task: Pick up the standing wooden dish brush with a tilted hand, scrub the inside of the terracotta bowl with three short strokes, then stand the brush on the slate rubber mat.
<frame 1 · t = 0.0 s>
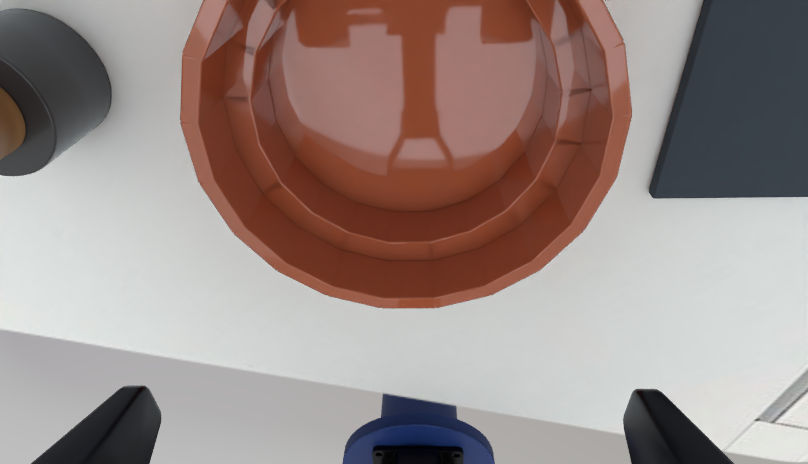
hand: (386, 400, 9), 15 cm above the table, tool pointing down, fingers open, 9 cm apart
bowl: (407, 91, 21), on the table
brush: (47, 75, 21), on the table
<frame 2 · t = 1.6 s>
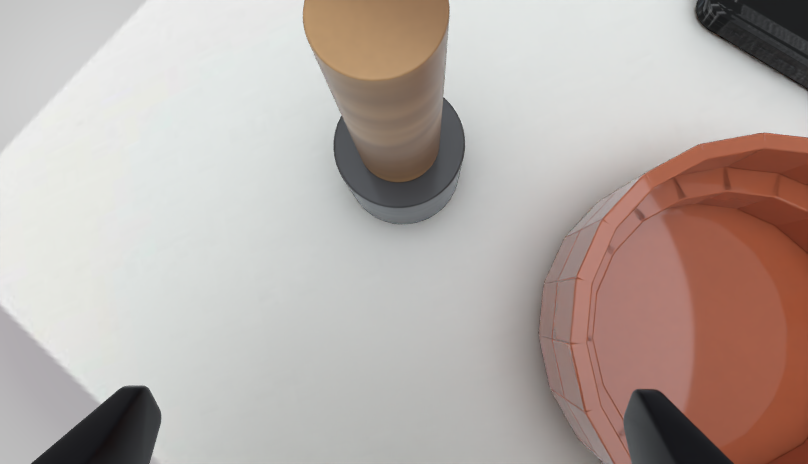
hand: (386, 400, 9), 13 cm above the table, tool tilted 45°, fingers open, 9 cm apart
bowl: (700, 331, 22), on the table
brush: (403, 170, 24), on the table
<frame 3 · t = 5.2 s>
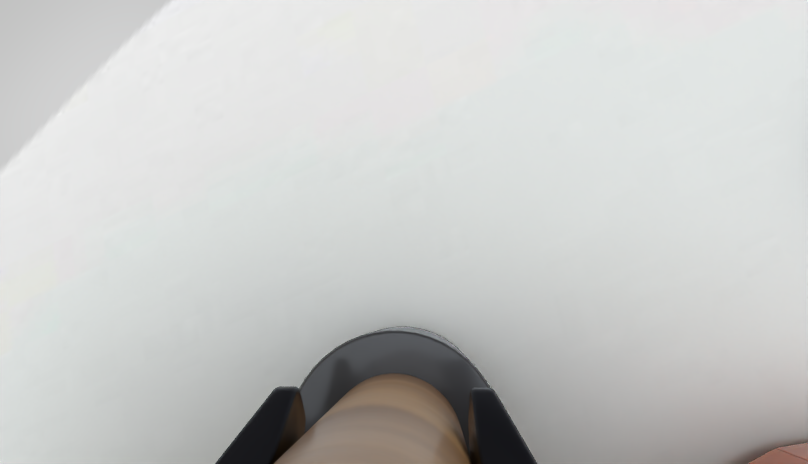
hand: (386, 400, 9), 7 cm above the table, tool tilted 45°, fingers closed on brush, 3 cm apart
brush: (402, 411, 16), on the table, touching gripper
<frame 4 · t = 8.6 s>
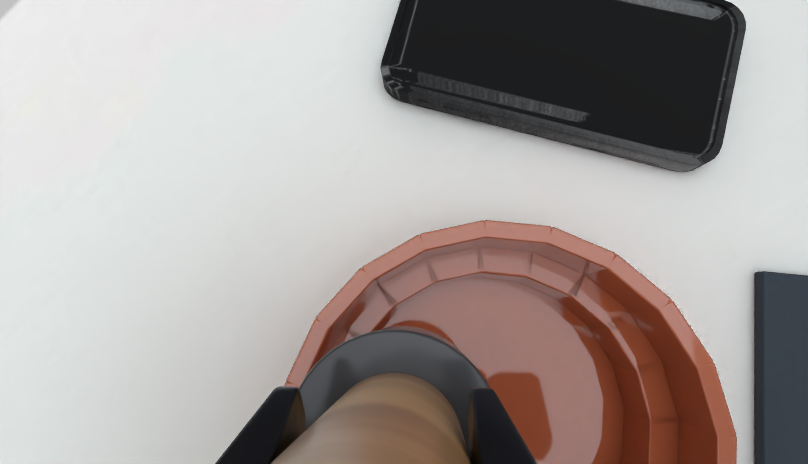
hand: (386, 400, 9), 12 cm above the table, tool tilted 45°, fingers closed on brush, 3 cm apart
phone: (553, 61, 23), on the table
bowl: (483, 411, 21), on the table
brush: (402, 410, 16), point 6 cm above the table, touching gripper
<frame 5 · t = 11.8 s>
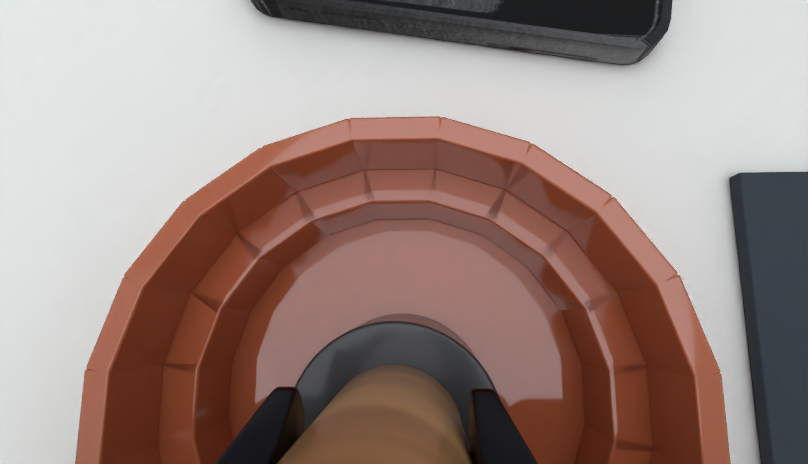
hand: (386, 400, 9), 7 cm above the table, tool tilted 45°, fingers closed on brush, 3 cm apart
bowl: (404, 389, 16), on the table
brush: (402, 397, 16), point 1 cm above the table, touching gripper
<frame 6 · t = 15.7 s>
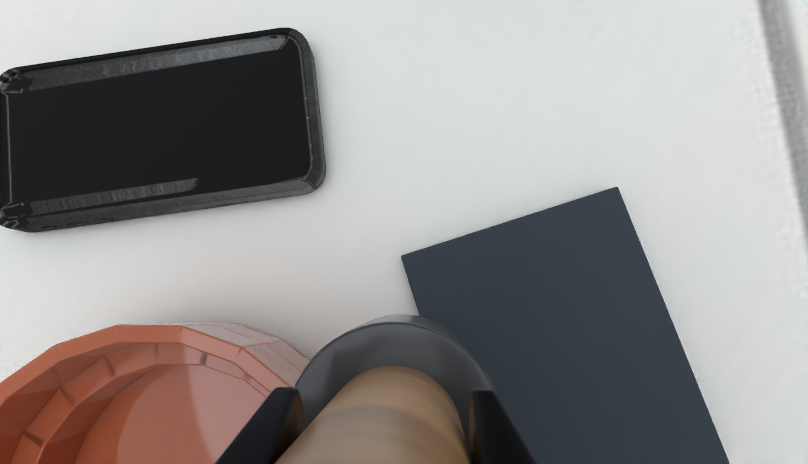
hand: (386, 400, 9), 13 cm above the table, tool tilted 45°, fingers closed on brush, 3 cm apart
phone: (166, 136, 24), on the table
mat: (554, 353, 22), on the table
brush: (401, 399, 16), point 6 cm above the table, touching gripper
when the fingers open (7 cm above the table, at t = 18.8 s): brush stays where it is, resting on mat.
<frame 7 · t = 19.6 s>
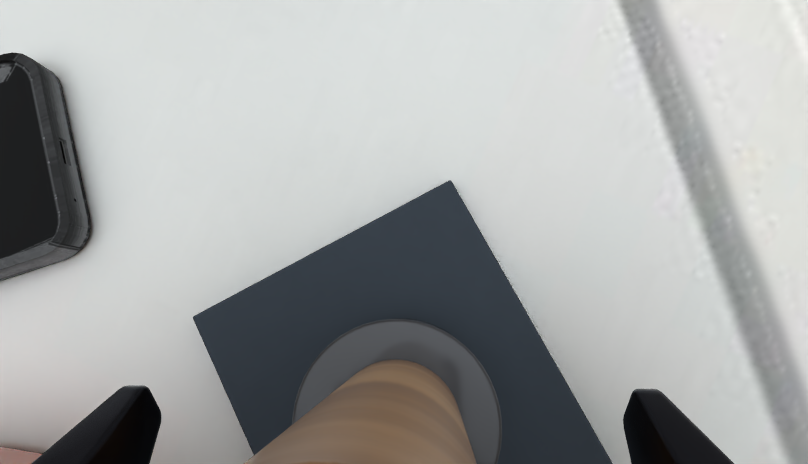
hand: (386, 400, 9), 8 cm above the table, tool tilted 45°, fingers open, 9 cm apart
mat: (405, 406, 17), on the table
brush: (403, 399, 16), point 1 cm above the table, touching mat
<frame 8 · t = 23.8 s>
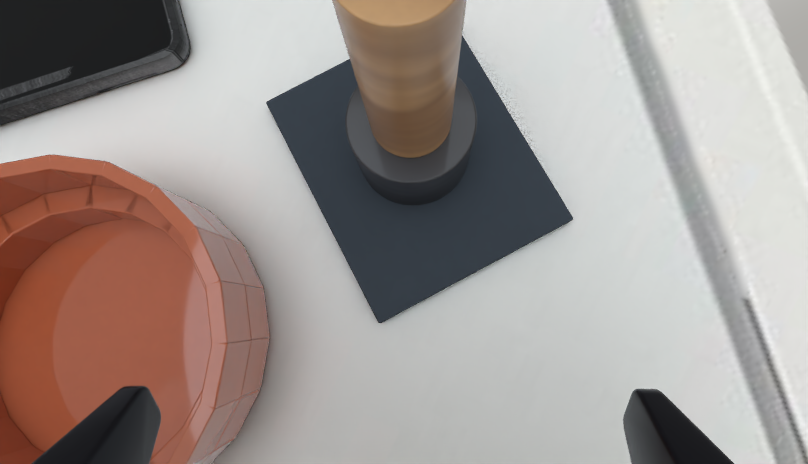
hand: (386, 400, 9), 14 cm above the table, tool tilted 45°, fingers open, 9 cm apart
phone: (42, 43, 26), on the table
bowl: (122, 339, 23), on the table
mat: (414, 162, 24), on the table
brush: (413, 151, 24), point 1 cm above the table, touching mat
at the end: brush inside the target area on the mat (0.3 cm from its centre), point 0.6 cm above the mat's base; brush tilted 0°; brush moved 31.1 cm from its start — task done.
